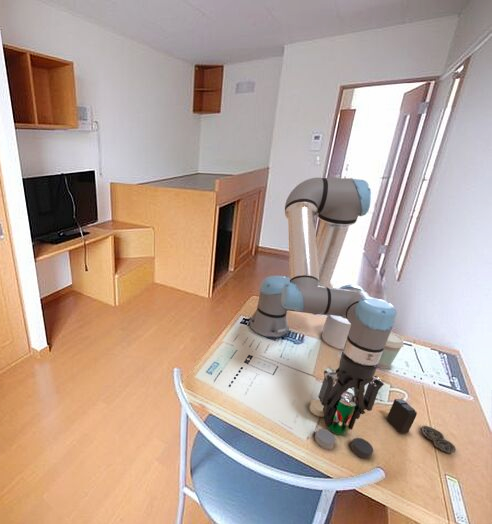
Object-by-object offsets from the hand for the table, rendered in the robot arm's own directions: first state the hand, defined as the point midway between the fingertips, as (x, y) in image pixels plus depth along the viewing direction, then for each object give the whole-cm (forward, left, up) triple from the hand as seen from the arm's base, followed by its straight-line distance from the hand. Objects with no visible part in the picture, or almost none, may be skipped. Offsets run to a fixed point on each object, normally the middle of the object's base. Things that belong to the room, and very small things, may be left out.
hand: (337, 423), depth 85 cm
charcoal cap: (+7, -2, -2) cm, 8 cm away
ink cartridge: (+10, +15, -2) cm, 18 cm away
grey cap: (0, -7, -2) cm, 7 cm away
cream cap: (-6, +2, -2) cm, 7 cm away
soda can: (0, 0, -2) cm, 2 cm away
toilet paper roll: (-18, +44, -2) cm, 48 cm away
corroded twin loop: (+18, +18, -2) cm, 26 cm away
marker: (-7, +18, -2) cm, 19 cm away
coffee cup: (-3, +42, -2) cm, 42 cm away
